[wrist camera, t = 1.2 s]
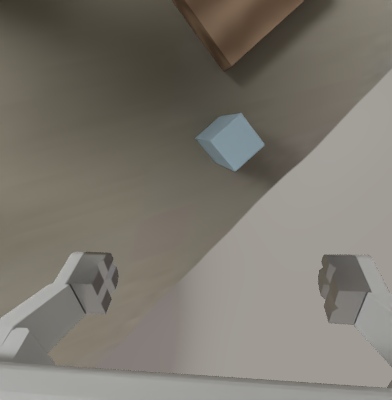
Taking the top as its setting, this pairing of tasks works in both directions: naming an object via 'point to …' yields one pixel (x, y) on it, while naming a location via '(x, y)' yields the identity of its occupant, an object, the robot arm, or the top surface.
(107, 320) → the top surface
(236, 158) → the slate block
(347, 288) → the robot arm
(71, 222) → the top surface
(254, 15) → the walnut base
